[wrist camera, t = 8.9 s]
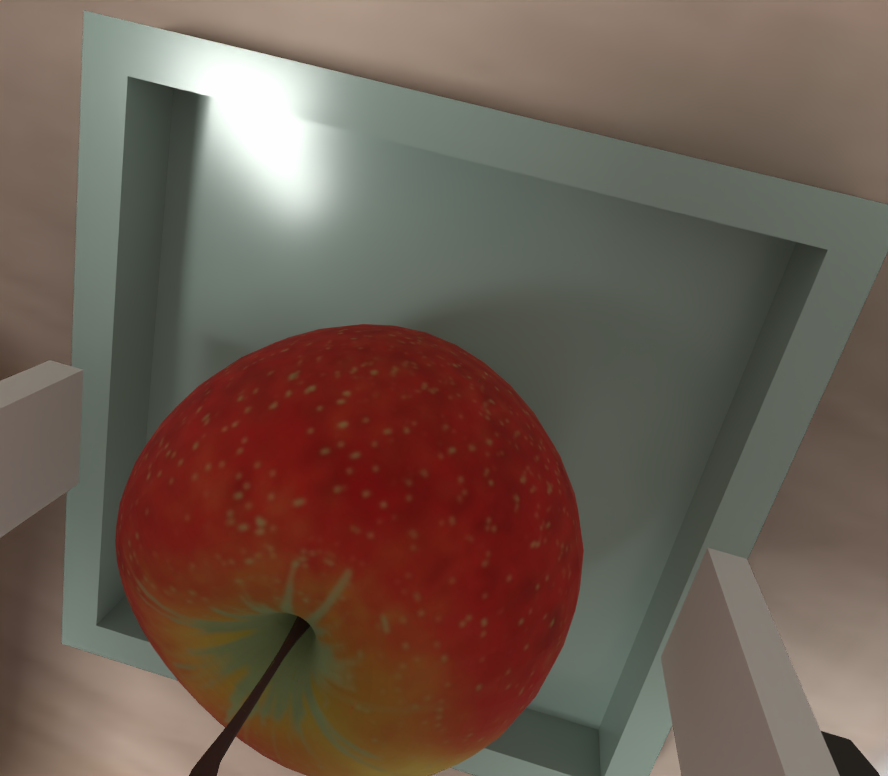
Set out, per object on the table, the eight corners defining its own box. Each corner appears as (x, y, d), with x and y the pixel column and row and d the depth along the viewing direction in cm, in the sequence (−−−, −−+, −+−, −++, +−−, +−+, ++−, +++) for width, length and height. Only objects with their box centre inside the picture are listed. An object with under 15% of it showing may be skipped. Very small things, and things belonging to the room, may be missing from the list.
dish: (113, 591, 22) (61, 643, 20) (151, 28, 16) (83, 9, 14) (620, 749, 21) (626, 823, 18) (856, 199, 15) (907, 209, 13)
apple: (647, 471, 17) (746, 861, 7) (403, 633, 19) (250, 1072, 10) (426, 209, 16) (221, 278, 6) (200, 416, 18) (-180, 681, 9)
